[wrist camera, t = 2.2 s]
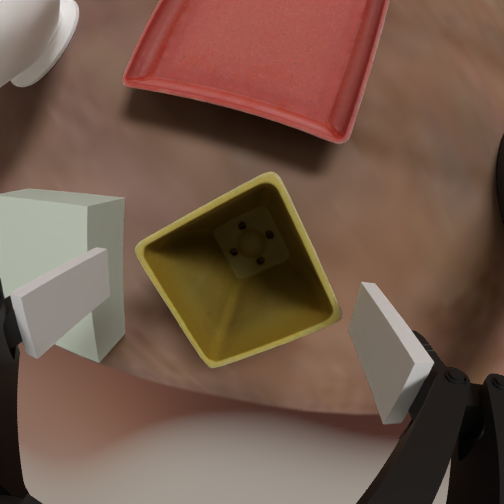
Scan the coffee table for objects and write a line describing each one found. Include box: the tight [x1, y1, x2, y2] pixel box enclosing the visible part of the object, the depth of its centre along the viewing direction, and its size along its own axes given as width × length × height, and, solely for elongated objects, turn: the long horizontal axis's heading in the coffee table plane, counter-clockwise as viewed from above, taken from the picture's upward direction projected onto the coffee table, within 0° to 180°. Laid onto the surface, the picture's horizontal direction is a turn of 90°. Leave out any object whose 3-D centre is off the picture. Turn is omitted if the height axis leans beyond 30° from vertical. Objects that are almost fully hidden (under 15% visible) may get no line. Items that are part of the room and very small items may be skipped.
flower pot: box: [135, 172, 342, 368], centre depth 19 cm, size 9×9×9 cm
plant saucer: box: [122, 0, 390, 145], centre depth 17 cm, size 18×18×3 cm
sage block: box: [0, 189, 126, 363], centre depth 23 cm, size 14×14×6 cm
